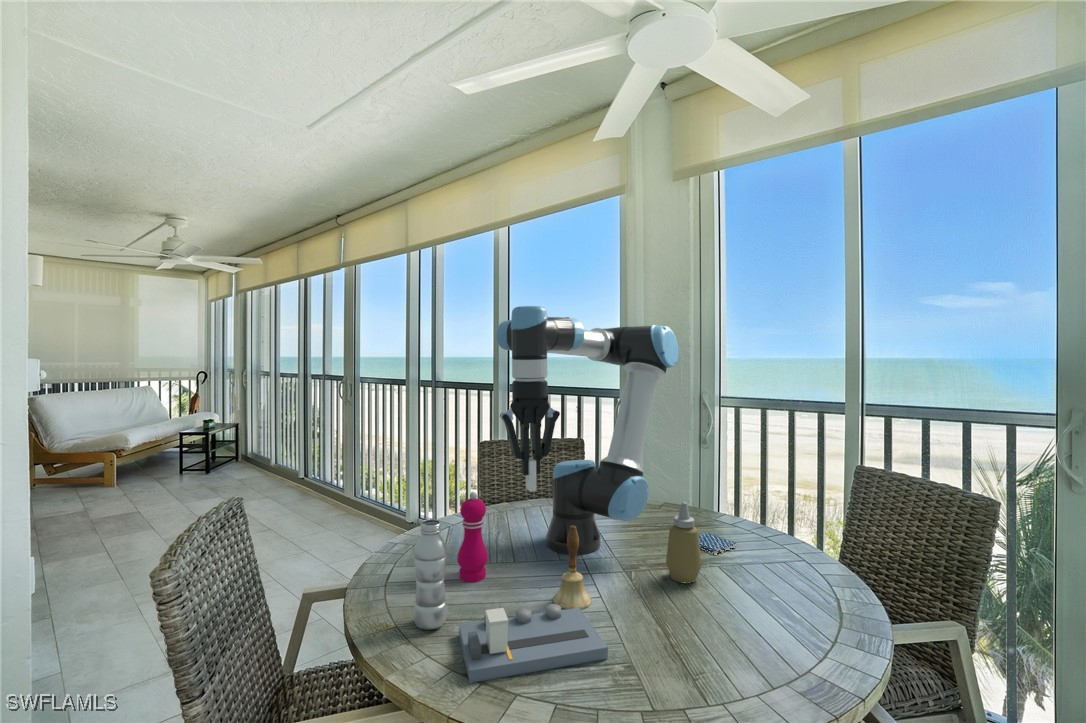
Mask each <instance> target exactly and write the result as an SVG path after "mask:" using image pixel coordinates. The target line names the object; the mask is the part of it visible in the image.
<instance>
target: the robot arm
mask: <svg viewBox="0 0 1086 723" xmlns="http://www.w3.org/2000/svg"><path fill="white" fill-rule="evenodd" d="M495 332H496V334H495V338H496V343H497V345H498V346H499V347H500V348H501V349H503V350H504V351H510V352H511V369H512V370H511V377H512V378H513V379H514V380H513V381H511V388H512V389H511V390H512V391H511V394H512V396H511V397H512V398H511V399H512V400H511V403H510V406H509V409H507V410H506V411H505V412H501V413H500V415H499V418H500V419H501V420H502V422H503V423H504V426H505V429H506V434H507V437H508V441H509V444H510V446H509V447H510V449H511V453H512V455H513V457H515V458H516V459H519V460H520V461H521V463H520V464H521V473H522V475H523V476H525V488H526V490H527V491H528V492H536V491H537V490H538V489H537V475H539V474H541V461H542V459H543V457H547V456H549V455H550V454H549V453H550V449H551V446H552V442H553V441H552V439H553V436H554V431H555V427H556V422H557V420H558V419H559V417H560V415H561V413H560V411H558V410H555V409H553V407H551V405H550V403H549V400H548V396H549V394H548V393H549V392H548V391H549V390H548V388H549V386H548V381H547V380H546V378H547V377H548V354H555V355H556V354H557V355H567V356H577V357H587V358H588V359H589V360H590V361H595V362H601V363H602V362H603V363H606V364H611V365H616V366H621V367H623V369H624V370H625V372H626V373H627V376H626V380H625V384H624V388H623V392H622V396H621V399H620V400H621V401H620V404H619V408H618V412H617V415H616V419H615V420H616V421H615V425H614V428H613V433H612V437H611V440H610V445H609V449H608V453H607V455H606V456H605V457H604V458H602V459H600V460H599V461H600V462H599V466H598V467H597V468H596V465H597V464H596V462H595V460H591V459H574V460H564V461H561V462H558V463H556V464H555V465H554V467H553V470H552V472H553V473H552V480H551V481H552V516H551V520H550V523H549V526H548V529H547V532H546V535H545V536H546V537H545V540H546V541H545V545H546V546H547V547H548V548H549V549H551V550H552V551H554V552H558V553H560V554H561V553H563V554H568V555H569V552H568V548H567V536H568V533H569V530H570V526H576V529H577V533H578V536H579V547H578V551H577V554H576V555H583V554H589V553H593V552H595V551H597V550H599V549H600V547H601V535H600V532H599V528H598V525H597V522H596V517H595V514H596V515H598V516H602V517H606V518H610V519H612V520H614V521H621V522H632V521H633V520H635V519H637V518H638V517H639V516H640V515H641V514H642V512H643V510H644V509H645V507H646V505H647V503H648V499H649V498H648V497H649V489H648V488H649V484H648V481H647V479H645V478H644V472H645V471H644V470H643V469H642V467H641V465H640V463H641V460H642V455H643V450H644V446H645V440H646V438H647V432H648V428H649V423H650V419H651V415H652V411H653V405H654V401H655V396H656V393H657V388H658V383H659V381H660V380H662V379H664V378H665V377H666V373H667V369H671V368H673V367H675V366H676V364H677V362H678V360H679V344H678V341H677V340H678V339H677V337H676V334H675V332H673V330H672V329H671V328H670V327H669V326H666V325H656V324H653V325H641V326H639V325H638V326H637V325H636V326H619V327H617V326H616V327H610V328H607V327H606V328H600V327H594V328H591V329H590V330H588V329H585V327H584V325H583V324H582V322H581V321H580V320H578V318H573V317H569V316H566V317H564V316H563V317H560V316H557V317H556V316H555V317H554V316H553V317H552V316H551V317H549V316H548V314H547V308H546V307H544V306H541V305H522V306H521V305H520V306H516V307H514V308H513V309H512V310H511V318H510V320H509V319H508V320H504V321H502V322H500V323H499V325H498V326H497V328H496V331H495ZM513 415H514V416H513ZM545 416H546V417H547V418H546V421H545V426H544V431H543V435H541V434H542V432H541V429H542V421H543V419H544V418H545ZM514 417H515V418H516V419H517V420H518V421H519V428H520V429H519V430H520V432H519V433H520V446H519V441H518V436H517V433H516V429H515V426H514V425H515V424H514V423H513V420H514ZM530 426H531V455H532V457H530ZM541 436H542V437H541ZM541 438H542V439H541Z"/></svg>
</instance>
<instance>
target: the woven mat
mask: <svg viewBox="0 0 1086 723" xmlns="http://www.w3.org/2000/svg"><path fill="white" fill-rule="evenodd" d="M718 541H719V542H718ZM699 545H701V546H700V548H703V549H705V550H706V551H707V550H708V552H709V551H710V552H711V553H712V552H713V554H714V553H716V554H717V552H720V551H722V550H725V549H727V548H729V547H731V546H733V545H737V543H736V542H734V541H733V540H729V539H728V538H727V539H725V538H724V537H720V536H719V535H717V536H716V535H714V533H712V534H711V533H709V532H705V533H702V534H699ZM704 547H706V548H704ZM709 549H711V550H709ZM715 551H717V552H715ZM708 552H707V553H708ZM711 553H710V554H711ZM713 554H712V555H713Z"/></svg>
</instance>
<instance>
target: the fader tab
mask: <svg viewBox="0 0 1086 723" xmlns="http://www.w3.org/2000/svg"><path fill="white" fill-rule="evenodd" d="M484 613H485V614H484V615H486V643H487V646H488V650H489V653H490V654H493V653H500V652H506V651H507V639H508V618H509V617H508V616H507V615H508V614H506V613H507V612H506V611H505V608H504V607H497V608H491V609H485V612H484Z"/></svg>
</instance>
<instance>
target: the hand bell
mask: <svg viewBox="0 0 1086 723" xmlns="http://www.w3.org/2000/svg"><path fill="white" fill-rule="evenodd" d="M578 547H579V536H578V533H577V529H576V526H570V530H569V533H568V536H567V548H568V552H569V554H568V569H567V571H566V572H565V573H563V574H562V576H561V583H560V586H559V590H558V591H556V593H555V594H554V595H553V599H552V601H553V604H557V605H559V606H560V607H561V609H562V610H567V609H574V608H580V609H581V610H583V609H586V608H588V607H589V606H591V604H592V602H593V601H592V597H591V596H590V594H589V593H588V592H587V590H586V588H585V584H584V576H583V575H582V574H581V573H580V572H578V571H577V555H578V554H577V551H578Z"/></svg>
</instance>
